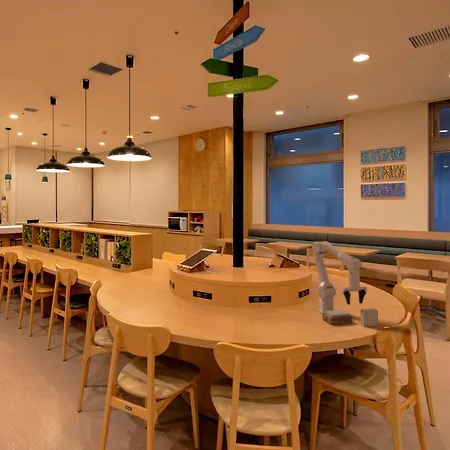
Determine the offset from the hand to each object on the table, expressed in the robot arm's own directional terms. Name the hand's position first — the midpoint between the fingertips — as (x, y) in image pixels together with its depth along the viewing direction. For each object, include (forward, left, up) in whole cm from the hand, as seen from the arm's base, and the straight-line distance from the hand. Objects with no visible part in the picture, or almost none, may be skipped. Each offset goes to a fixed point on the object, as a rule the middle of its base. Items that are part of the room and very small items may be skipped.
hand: (354, 303), depth 205 cm
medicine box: (+11, +2, -10) cm, 15 cm away
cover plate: (0, -11, -6) cm, 12 cm away
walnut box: (0, -11, -9) cm, 14 cm away
